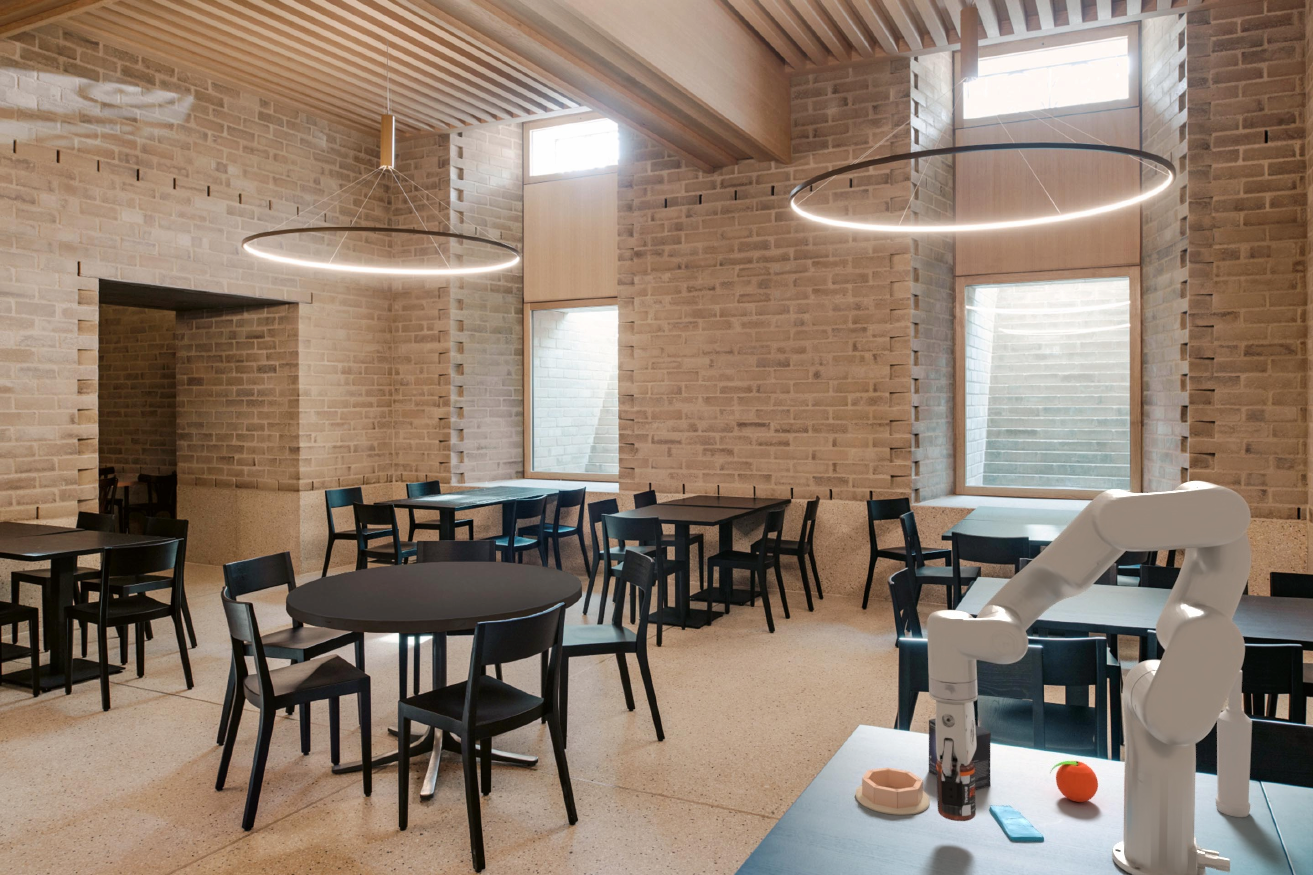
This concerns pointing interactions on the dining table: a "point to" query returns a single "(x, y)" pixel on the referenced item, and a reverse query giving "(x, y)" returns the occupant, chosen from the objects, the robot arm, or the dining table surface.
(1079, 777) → the clementine
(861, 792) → the cup holder
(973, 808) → the supplement bottle
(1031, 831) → the sponge
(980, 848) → the dining table surface
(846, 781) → the dining table surface
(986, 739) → the small box
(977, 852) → the dining table surface
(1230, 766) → the bottle
